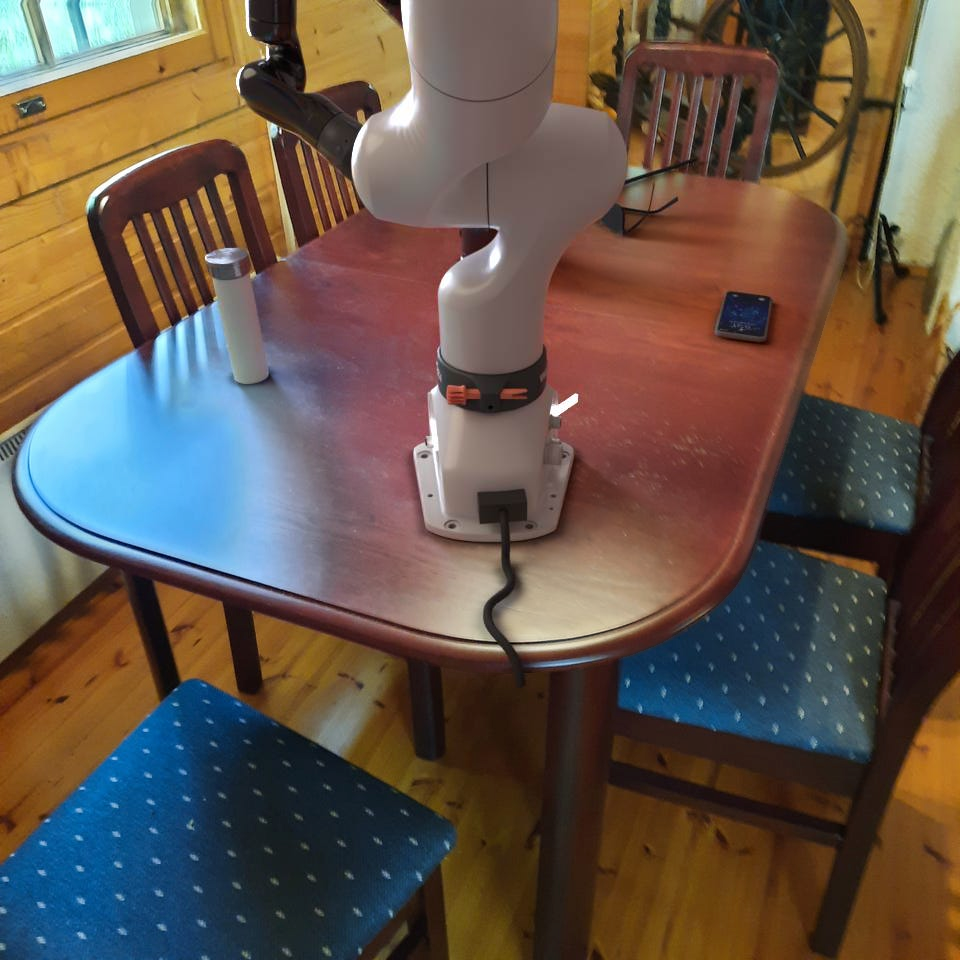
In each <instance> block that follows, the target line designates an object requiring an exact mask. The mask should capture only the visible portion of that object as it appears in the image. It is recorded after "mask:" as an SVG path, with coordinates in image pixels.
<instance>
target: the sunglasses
mask: <svg viewBox="0 0 960 960" xmlns="http://www.w3.org/2000/svg"><path fill="white" fill-rule="evenodd" d="M655 185H656V183H655V181H653V183H652V189H651V195H650V201H649V206H648V209H647V210H646V209H645V210H643V209H638V208H631V207H625V206H621V205H620V204H619V203H617V202H615V204H614V205H613V207H612V208H611V209H610V210H609V211H608V212H607V213H606V214H605V215H604V216H603V217H602V218H600V219H599V220H598V221H600V222H601V223H602V224H603V225H604V227H606V228H608V229H609V230H611V231H612V232H614V233H616V234H618V235H623V236H624V235H629V234H630V233H632V231H634V230H635V229H636V228H638V227H639V225H641V223H642V222H643V221H644V220H646V218H647V217H648V215H655V214H658V213H661V212H663V211H664V210H666V209H668V208H669V207H671V206H672V205H675V204H676V203H678V201H679V196H676V197H674V198H673V199H671V200H669V201H668V202H667V203H666V204H664V205H662V206H661V207H659V208H658V209H654V210H651V207H652V202H653V196H654V191H655ZM625 212H633V213H639V214H644V215H643V216H642V217H641V218H640V219H639V220H638V221H637V222H635V224H633V225H632V226H630V228H628V229H627V230H626V229H625V228H626V227H625V225H626V213H625Z"/></svg>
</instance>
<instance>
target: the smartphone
mask: <svg viewBox="0 0 960 960" xmlns="http://www.w3.org/2000/svg"><path fill="white" fill-rule="evenodd" d="M773 302H774V301H773V298H772V297H771V296H769V295H763V294H756V293H749V292H743V291H734V290H729V291H726V292H725V293H724V295H723V299H722V301H721V306H720V310H719V312H718V317H717V319H716V322H715V328H714V334H715V335H716V336H717V337H718V338H719V337H720V338H725V339H732V340H739V341H747V342H754V343H764V342H765V341H767V338H768V333H769V328H770V318H771V313H772V307H773Z"/></svg>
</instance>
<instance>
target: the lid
mask: <svg viewBox="0 0 960 960" xmlns="http://www.w3.org/2000/svg"><path fill="white" fill-rule="evenodd" d="M205 265H206V269H207V273H208V276H210V277H211V278H212V277H213V278H216V279H233V278H238V277H241V276H244V275H246V274H247V273H249V272H251V270H252V264H251V258H250V255H249V252H248V251H247V249H243V248H241V247H225V248H219V249H216V250H213V251H211V252H209V253H207V254H206V255H205Z"/></svg>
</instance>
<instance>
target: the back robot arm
mask: <svg viewBox="0 0 960 960" xmlns="http://www.w3.org/2000/svg"><path fill="white" fill-rule="evenodd" d="M373 1H374V3H375V4H376V5H377V6H378V7H379V8H380V9H381V10H382V11H383V12H384V13H385V14H386V15H387V16H388V17H389V19H390V20H392V21H393V23H395V24H396V25H397V26H398V27H399V28H401V30H402V31H404V28H403V19H402V8H401V0H373ZM297 18H298V0H245V19H246V21H245V22H246V29H247V32H248V35H249V36H250V37H251V38H252V39H253V40H254V41H256V42H258V43H261V44H263V45H265V48H266V57H264V58H261V59H258V60H255V61H251V62H248V63H247V64H245V65H243V66H242V68H241V69H240V70H239V71H238V74H237V77H236V87H237V91H238V94H239V96H240V98H241V99H242V102H243V103H244V104H245V105H246V106H247V107H248V109H249V110H251V111H252V112H253V113H254V114H255V115H257V116H258V117H260V118H262V119H263V120H265V121H267V122H269V123H270V124H273V125H275V126H277V127H279V128H280V129H281V130H285V131H287V132H289V133H292V134H294V135H296V136H297V137H299V138H300V139H301V140H302V141H304V143H306V145H309V147H310V148H312V149H313V150H314V151H315V152H317V153H318V154H319V155H320V156H321V157H322V158H323V159H324V160H325V161H326V163H327V164H329V165H330V166H331V167H332V168H333V169H335V170H336V172H338V173H339V174H340V175H342V176H343V177H344V178H345V179H347V180H348V181H349V182H350V183H351V184H352V185H354V186H355V184H354V180H353V176H352V154H353V148H354V145H355V141H356V139H357V136H358V134H359V132H360V130H361V128H362V127H363V125H364V124H363V123H361V122H360V121H358V120H357V119H355V118H354V117H352V116H350V115H349V114H347V112H345V111H344V110H342V109H341V108H340V107H339V106H338V105H336V104H335V103H334V102H333V101H332V100H330V98H328V97H327V96H325V95H323V94H321V93H318V92H305V91H306V87H307V78H308V77H307V68H306V64H305V60H304V56H303V55H304V54H303V51H302V50H303V49H302V46H301V42H300V38H299V34H298V30H297V29H298V28H297V23H298V19H297ZM695 162H698V157H697V156H696V157H692V158H689V159H686V160H684V161H681V162H678V163H674V164H672V165H669V166H665V167H662V168H659V169H656V170H653V171H649V172H646V173H643V174H639V175H637V176H634V177H631V178H627V179H625V183H624V186H626V185H628V184H631V183H634V182H637V181H640V180H644V179H647V178H650V177H653V176H656V175H659V174H662V173H665V172H669V171H672V170H675V169H678V168H681V167H684V166H687V165H690V164H692V163H695ZM458 231H459V239H460V260H461V259H463V258H465V257H467V256H469V255H471V254H473V253H475V252H477V251H479V250H481V249H482V248H484V247H486V246H487V245H488V244H489V243H490V242H492V241H493V239H494V238H495V237H496V235H497V234H498V230H496V229H494V228H490V225H489V228H459V230H458Z"/></svg>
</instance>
